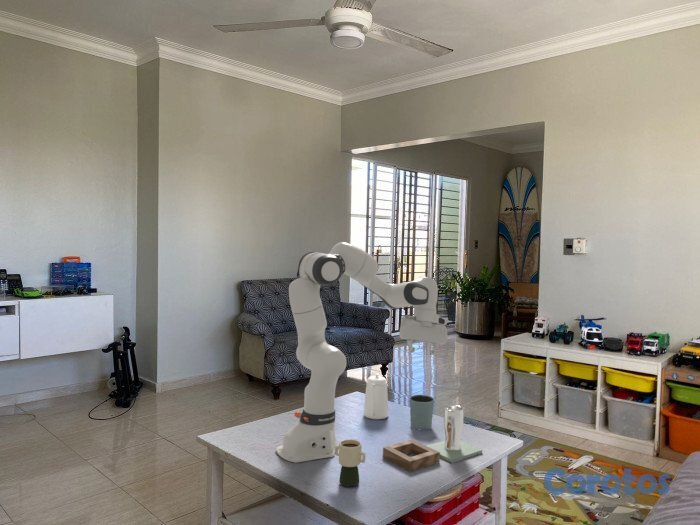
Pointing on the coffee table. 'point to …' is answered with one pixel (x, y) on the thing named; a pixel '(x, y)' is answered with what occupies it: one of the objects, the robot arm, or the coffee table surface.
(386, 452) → the walnut holder
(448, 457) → the sage board
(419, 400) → the green plant pot
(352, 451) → the character mug
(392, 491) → the coffee table surface
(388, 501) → the coffee table surface
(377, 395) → the coffeepot
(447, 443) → the silver metal tumbler
